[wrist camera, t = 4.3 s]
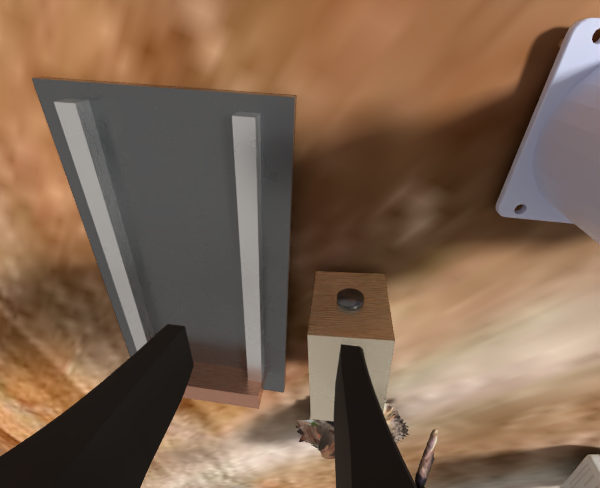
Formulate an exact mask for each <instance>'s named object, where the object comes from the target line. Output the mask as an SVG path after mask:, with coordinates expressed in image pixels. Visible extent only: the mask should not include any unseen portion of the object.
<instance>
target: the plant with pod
mask: <svg viewBox="0 0 600 488" xmlns="http://www.w3.org/2000/svg"><path fill="white" fill-rule="evenodd" d="M386 401H387V400H385V402H386ZM390 406H391V404H388V403H385V405H384V411H383V414H384V417H385V419H386V422H387V424H388V427H389V429H390V431H391V434H392V436H393V438H394V440H395V442H396V443H398V442H397V441H400V440H399V439H404V438H403V436H405V435H404V434H406V435H409V434H408V433H407V431H408V429H407V428H406V427H408V426H406V425H405V424H406V423H403V419H401V418H400V416H399V414H398V412H397V411H394V412H392V410H393V408H394V407H390ZM296 428H300V429H299V430H298V431H297V432H298V433H300V434H301V435H302V437H301V439H300V441H299V442H302V441H305V442H308V443H311V444H313V445H312V446H314V447H316V448H319V451H320V452H321V455H322V457H323V458H325V459H334V458H335V443H334V421H325V420H315V419H311V415H310V420H305V421H304V420H297V426H296ZM437 433H438V430H436V429H434V430H433V431H432V432H431V435H430V438H429V441H428V442H427V446H426V449H425V451H424V453H423V456H422V459H421V462H420V464H419V468H418V471H417V473H416V477H415V483H416V486H417V488H425V487H424V486H425V484H426V480H427V475H428V473H429V472H430V468H431V466H432V464H433V461H434V448H435V444H436V441H437ZM406 437H407V436H406ZM400 442H401V441H400ZM317 450H318V449H317Z"/></svg>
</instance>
